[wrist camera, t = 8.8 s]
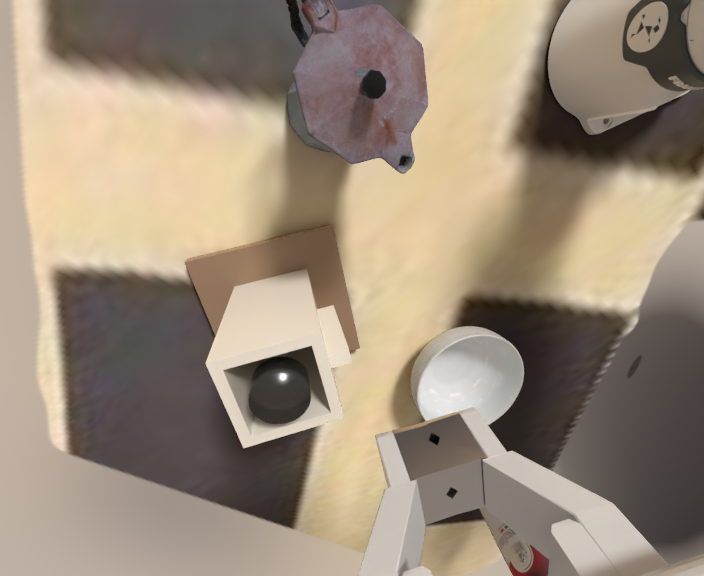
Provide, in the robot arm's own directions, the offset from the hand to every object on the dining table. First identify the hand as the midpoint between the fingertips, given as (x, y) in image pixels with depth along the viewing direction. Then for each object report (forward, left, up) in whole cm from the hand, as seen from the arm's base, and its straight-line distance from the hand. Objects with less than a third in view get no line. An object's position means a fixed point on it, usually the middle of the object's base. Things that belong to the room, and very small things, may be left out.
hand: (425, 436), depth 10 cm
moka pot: (-4, -12, -36) cm, 38 cm away
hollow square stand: (+7, +10, -35) cm, 37 cm away
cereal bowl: (-16, +27, -36) cm, 47 cm away
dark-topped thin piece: (+7, +10, -33) cm, 35 cm away
